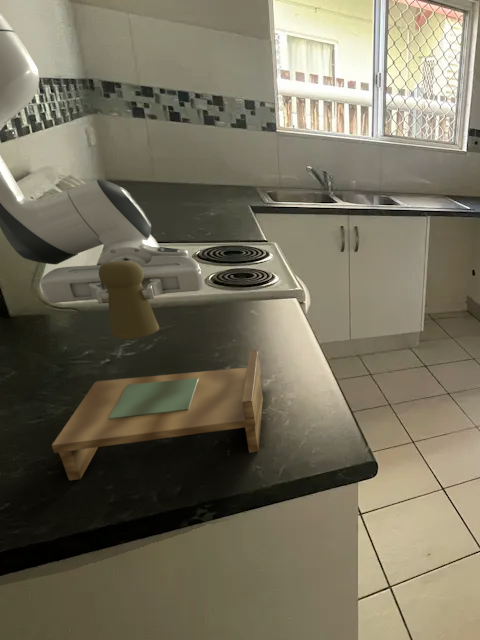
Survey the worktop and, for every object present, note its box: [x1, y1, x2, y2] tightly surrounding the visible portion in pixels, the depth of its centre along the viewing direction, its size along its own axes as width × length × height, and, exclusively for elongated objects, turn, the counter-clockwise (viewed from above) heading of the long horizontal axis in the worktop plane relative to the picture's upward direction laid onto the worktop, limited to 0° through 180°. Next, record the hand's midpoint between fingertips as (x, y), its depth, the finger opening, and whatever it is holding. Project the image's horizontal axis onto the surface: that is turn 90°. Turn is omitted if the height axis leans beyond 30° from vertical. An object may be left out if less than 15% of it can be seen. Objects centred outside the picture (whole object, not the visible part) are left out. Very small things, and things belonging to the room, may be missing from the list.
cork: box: [99, 261, 160, 340], centre depth 72 cm, size 6×6×11 cm
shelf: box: [51, 349, 264, 481], centre depth 69 cm, size 22×16×9 cm
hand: (126, 296), depth 71 cm, fingers closed on cork, 4 cm apart
